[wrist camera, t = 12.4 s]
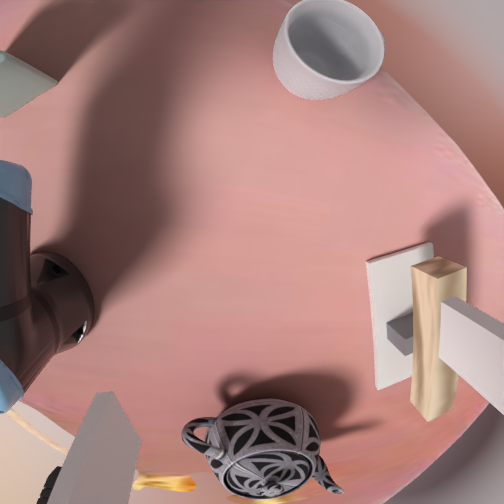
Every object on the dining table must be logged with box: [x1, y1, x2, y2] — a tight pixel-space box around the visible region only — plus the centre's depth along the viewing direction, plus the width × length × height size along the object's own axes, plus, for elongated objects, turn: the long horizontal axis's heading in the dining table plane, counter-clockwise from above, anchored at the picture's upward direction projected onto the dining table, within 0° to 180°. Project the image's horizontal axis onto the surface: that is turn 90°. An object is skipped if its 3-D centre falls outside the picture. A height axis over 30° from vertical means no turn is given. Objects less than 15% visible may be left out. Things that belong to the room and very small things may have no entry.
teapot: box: [182, 398, 344, 499], centre depth 42 cm, size 19×31×15 cm, turn 56°
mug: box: [272, 0, 385, 100], centre depth 31 cm, size 15×11×13 cm
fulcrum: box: [366, 242, 434, 390], centre depth 44 cm, size 12×24×7 cm, turn 13°
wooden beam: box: [410, 256, 467, 422], centre depth 37 cm, size 5×24×6 cm, turn 13°
